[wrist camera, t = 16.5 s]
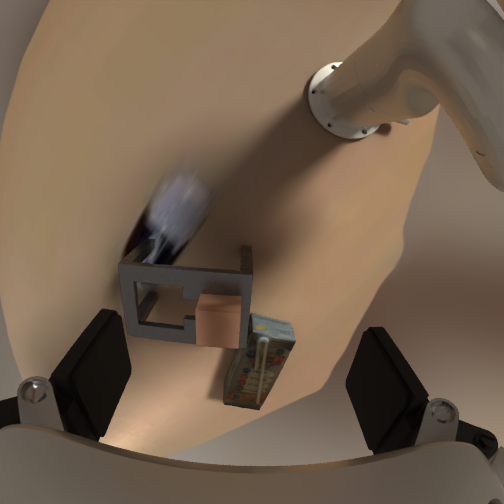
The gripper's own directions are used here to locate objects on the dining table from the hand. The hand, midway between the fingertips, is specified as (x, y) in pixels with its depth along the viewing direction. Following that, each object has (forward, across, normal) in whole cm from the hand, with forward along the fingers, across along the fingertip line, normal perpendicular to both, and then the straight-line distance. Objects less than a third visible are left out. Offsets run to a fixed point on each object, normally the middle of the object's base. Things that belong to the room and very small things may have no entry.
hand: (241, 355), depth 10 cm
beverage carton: (+34, -4, +28) cm, 44 cm away
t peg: (+28, +2, +12) cm, 31 cm away
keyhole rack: (+33, +7, +12) cm, 36 cm away
